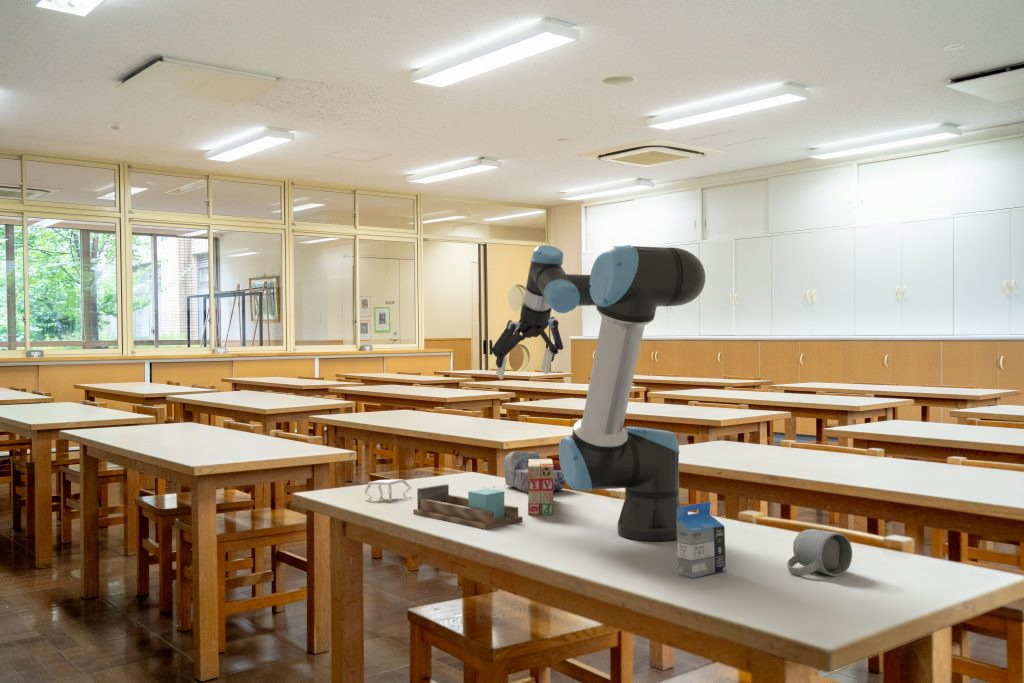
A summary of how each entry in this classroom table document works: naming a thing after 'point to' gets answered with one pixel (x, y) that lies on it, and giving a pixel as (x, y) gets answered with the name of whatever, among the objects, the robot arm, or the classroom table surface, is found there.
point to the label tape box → (699, 542)
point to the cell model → (519, 471)
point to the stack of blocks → (540, 487)
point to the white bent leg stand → (388, 482)
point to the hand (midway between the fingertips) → (522, 373)
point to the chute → (459, 509)
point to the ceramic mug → (820, 553)
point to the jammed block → (487, 501)
